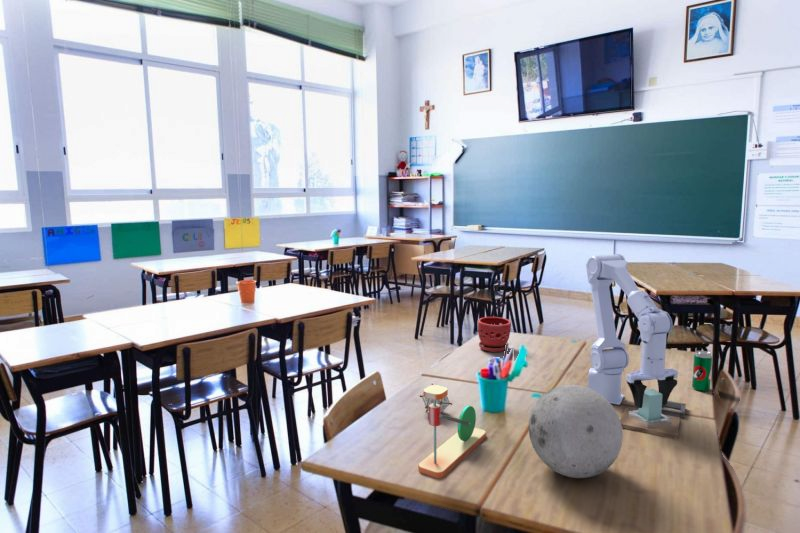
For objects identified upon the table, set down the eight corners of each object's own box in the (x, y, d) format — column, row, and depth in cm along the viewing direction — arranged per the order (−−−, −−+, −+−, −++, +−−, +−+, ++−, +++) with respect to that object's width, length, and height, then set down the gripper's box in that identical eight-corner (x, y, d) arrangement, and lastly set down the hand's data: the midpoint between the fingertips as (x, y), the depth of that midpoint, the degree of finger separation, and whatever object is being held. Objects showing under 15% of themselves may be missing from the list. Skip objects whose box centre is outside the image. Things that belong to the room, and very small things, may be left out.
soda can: (712, 392, 163) (715, 355, 162) (694, 391, 164) (697, 354, 163) (706, 386, 168) (709, 350, 167) (689, 385, 169) (691, 349, 168)
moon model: (639, 477, 116) (644, 391, 113) (580, 508, 106) (584, 414, 103) (567, 442, 133) (569, 366, 130) (509, 466, 122) (510, 384, 119)
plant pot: (475, 352, 207) (475, 323, 206) (479, 343, 220) (479, 315, 218) (509, 355, 204) (509, 325, 202) (511, 345, 216) (511, 317, 215)
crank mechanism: (440, 479, 117) (440, 397, 114) (415, 471, 121) (414, 391, 118) (488, 435, 138) (488, 365, 135) (465, 429, 141) (465, 361, 139)
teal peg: (648, 424, 140) (649, 395, 139) (638, 418, 144) (639, 390, 143) (660, 422, 141) (662, 394, 140) (650, 416, 145) (652, 388, 144)
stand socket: (654, 413, 149) (654, 408, 149) (656, 403, 156) (657, 398, 155) (683, 418, 145) (684, 413, 145) (685, 408, 152) (685, 403, 152)
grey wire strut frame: (442, 424, 153) (463, 400, 150) (424, 423, 147) (446, 398, 144) (426, 401, 159) (446, 377, 156) (408, 400, 153) (428, 375, 150)
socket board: (618, 426, 141) (618, 418, 141) (625, 410, 151) (625, 402, 151) (676, 438, 134) (677, 429, 134) (680, 421, 144) (680, 412, 144)
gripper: (639, 363, 134) (637, 414, 136) (687, 358, 138) (684, 407, 140) (622, 355, 141) (619, 403, 143) (668, 350, 144) (665, 397, 146)
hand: (650, 405), depth 142 cm, fingers open, 7 cm apart
